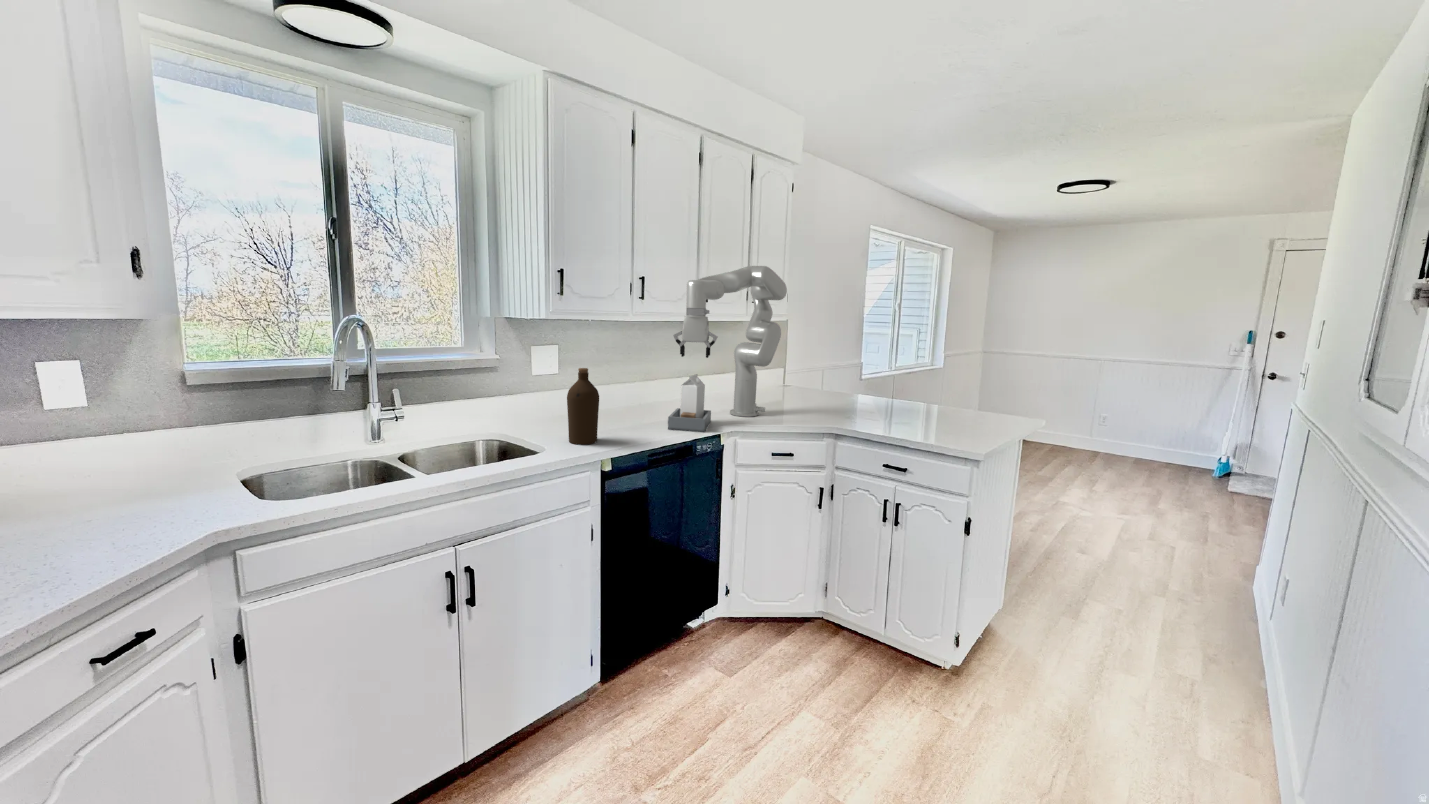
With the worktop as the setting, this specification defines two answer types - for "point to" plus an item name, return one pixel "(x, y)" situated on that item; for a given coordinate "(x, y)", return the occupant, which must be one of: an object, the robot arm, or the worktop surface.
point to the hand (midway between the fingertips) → (695, 356)
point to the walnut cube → (688, 415)
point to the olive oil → (583, 410)
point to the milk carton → (693, 396)
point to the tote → (689, 422)
